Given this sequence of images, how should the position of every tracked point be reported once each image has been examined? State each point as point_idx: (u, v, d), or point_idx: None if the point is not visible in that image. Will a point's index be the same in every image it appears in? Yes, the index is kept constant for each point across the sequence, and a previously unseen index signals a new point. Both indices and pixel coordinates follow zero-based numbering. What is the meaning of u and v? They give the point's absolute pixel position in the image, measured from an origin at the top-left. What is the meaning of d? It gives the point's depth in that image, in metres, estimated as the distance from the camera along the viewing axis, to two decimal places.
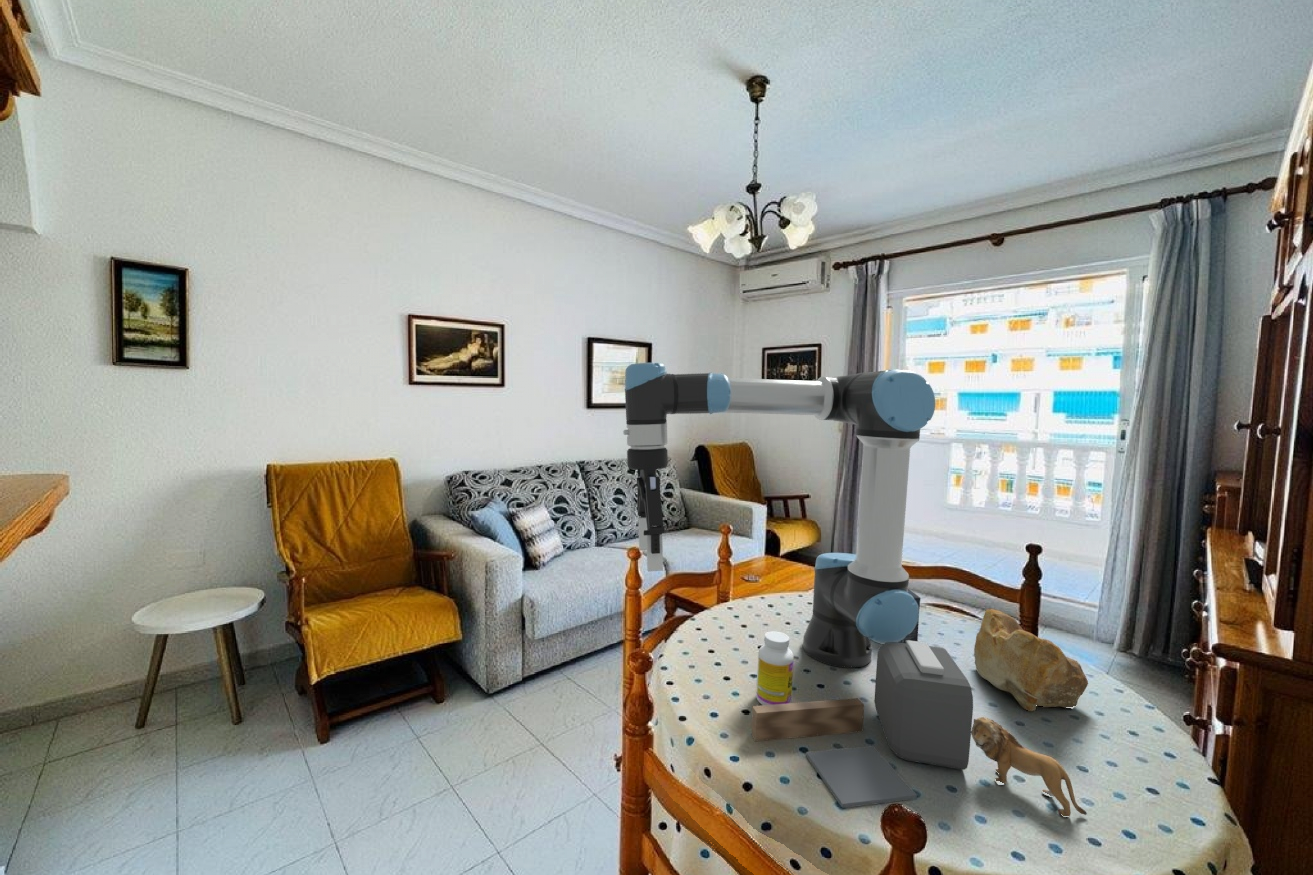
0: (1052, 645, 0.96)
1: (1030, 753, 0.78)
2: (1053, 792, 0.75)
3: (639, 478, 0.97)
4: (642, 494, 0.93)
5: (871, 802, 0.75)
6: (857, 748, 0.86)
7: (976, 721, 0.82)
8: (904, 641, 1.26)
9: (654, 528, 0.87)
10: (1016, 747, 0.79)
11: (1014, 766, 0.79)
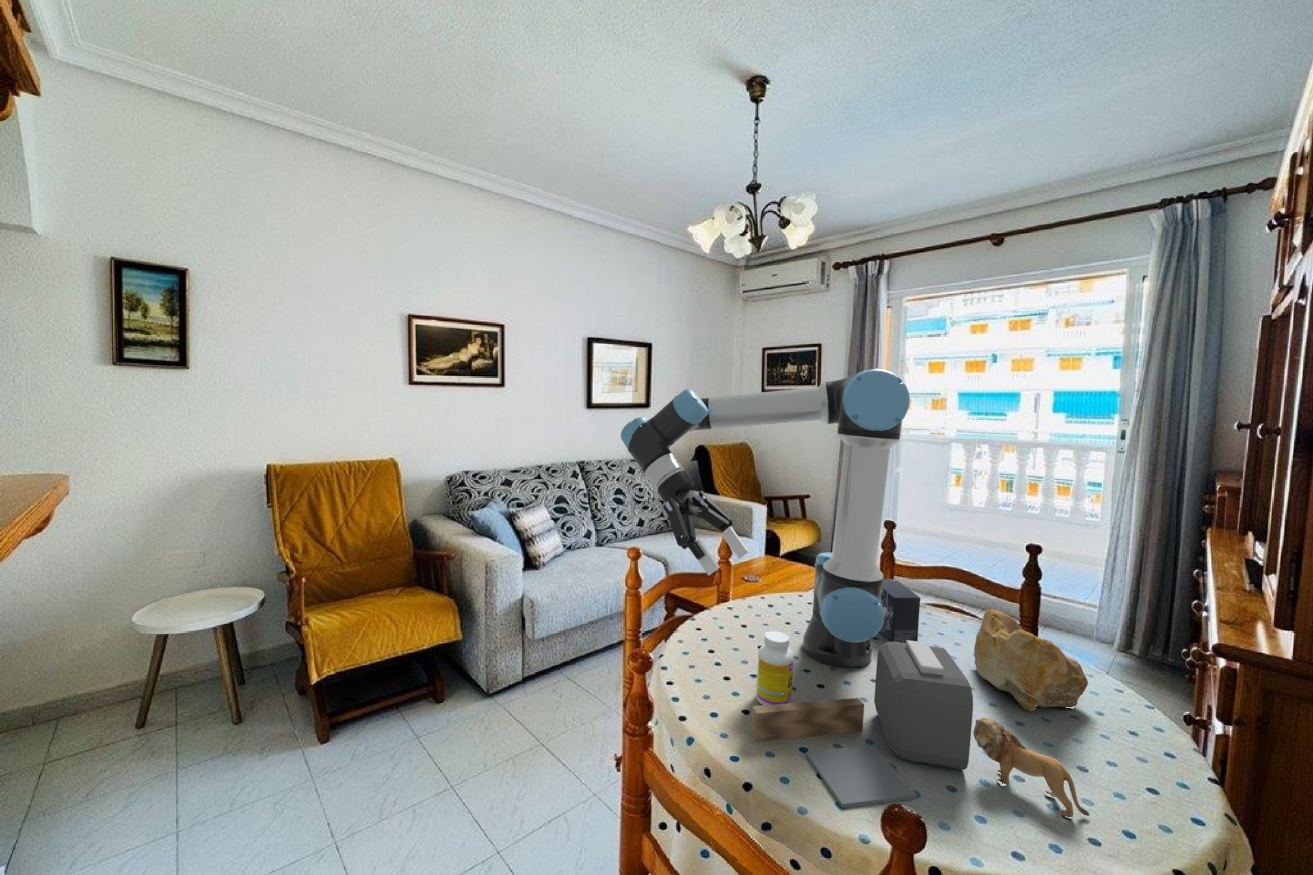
0: (1052, 645, 0.96)
1: (1032, 754, 0.78)
2: (1056, 793, 0.74)
3: None
4: None
5: (871, 802, 0.75)
6: (857, 748, 0.86)
7: (978, 722, 0.82)
8: (904, 641, 1.26)
9: (679, 540, 0.99)
10: (1018, 748, 0.79)
11: (1016, 767, 0.79)
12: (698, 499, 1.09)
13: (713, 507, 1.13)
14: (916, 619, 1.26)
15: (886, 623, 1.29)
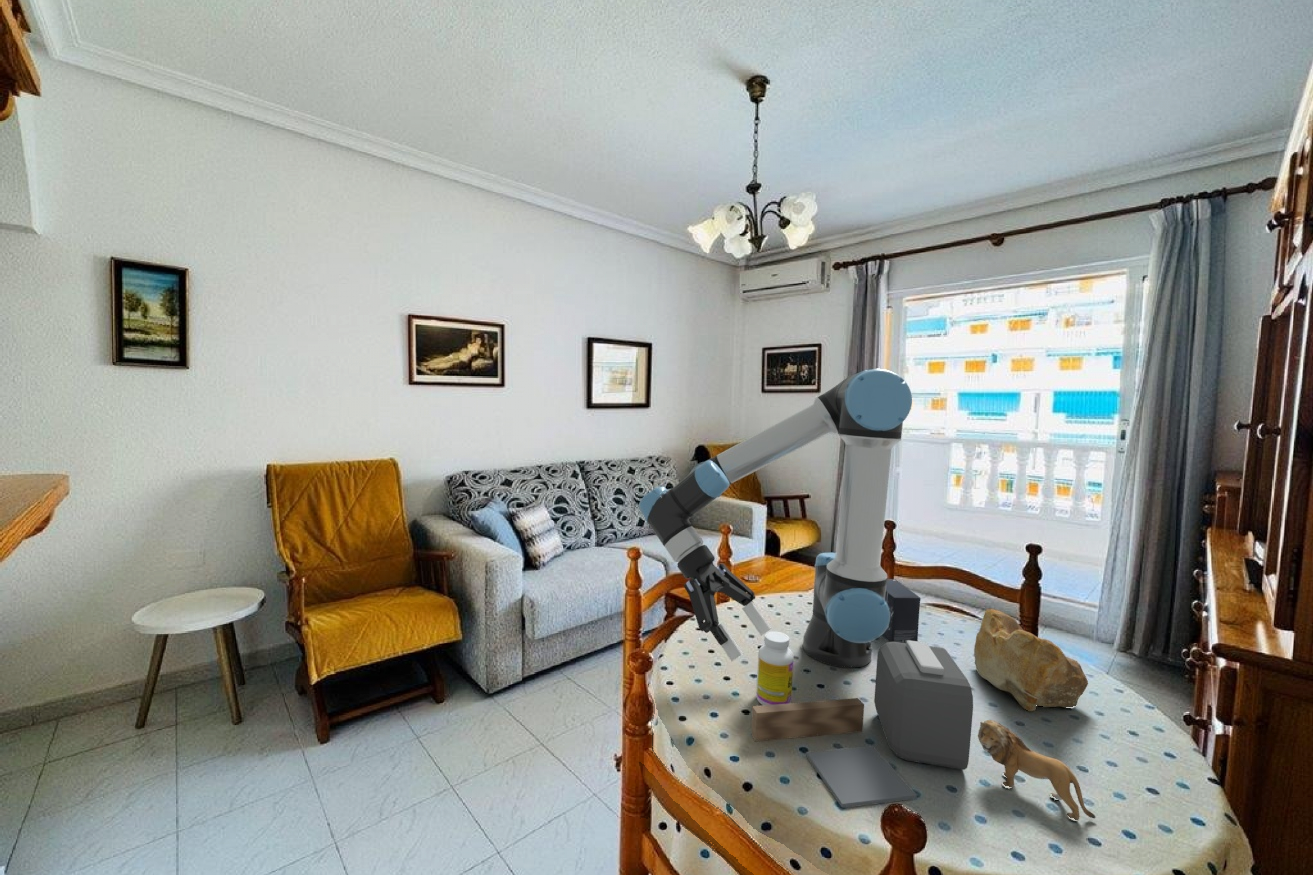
0: (1052, 645, 0.96)
1: (1038, 756, 0.77)
2: (1062, 796, 0.74)
3: None
4: None
5: (871, 802, 0.75)
6: (857, 748, 0.86)
7: (983, 724, 0.82)
8: (904, 641, 1.26)
9: (702, 625, 0.96)
10: (1024, 750, 0.78)
11: (1022, 769, 0.78)
12: (719, 575, 1.07)
13: (734, 580, 1.11)
14: (916, 619, 1.26)
15: None
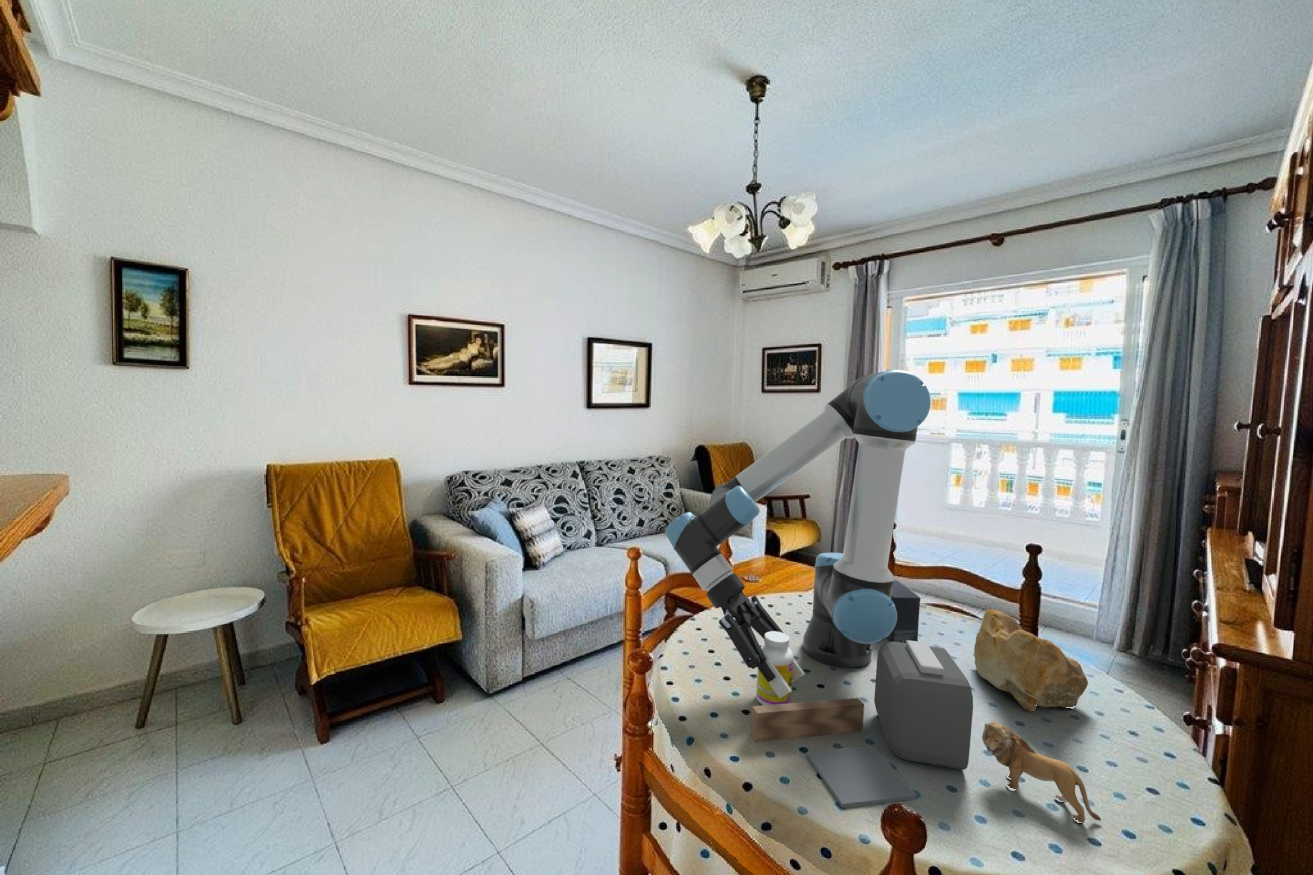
0: (1052, 645, 0.96)
1: (1042, 758, 0.77)
2: (1067, 798, 0.74)
3: None
4: None
5: (871, 802, 0.75)
6: (857, 748, 0.86)
7: (987, 726, 0.81)
8: (904, 641, 1.26)
9: (749, 661, 0.95)
10: (1028, 752, 0.78)
11: (1026, 771, 0.78)
12: (749, 605, 1.04)
13: (764, 615, 1.06)
14: (916, 619, 1.26)
15: None
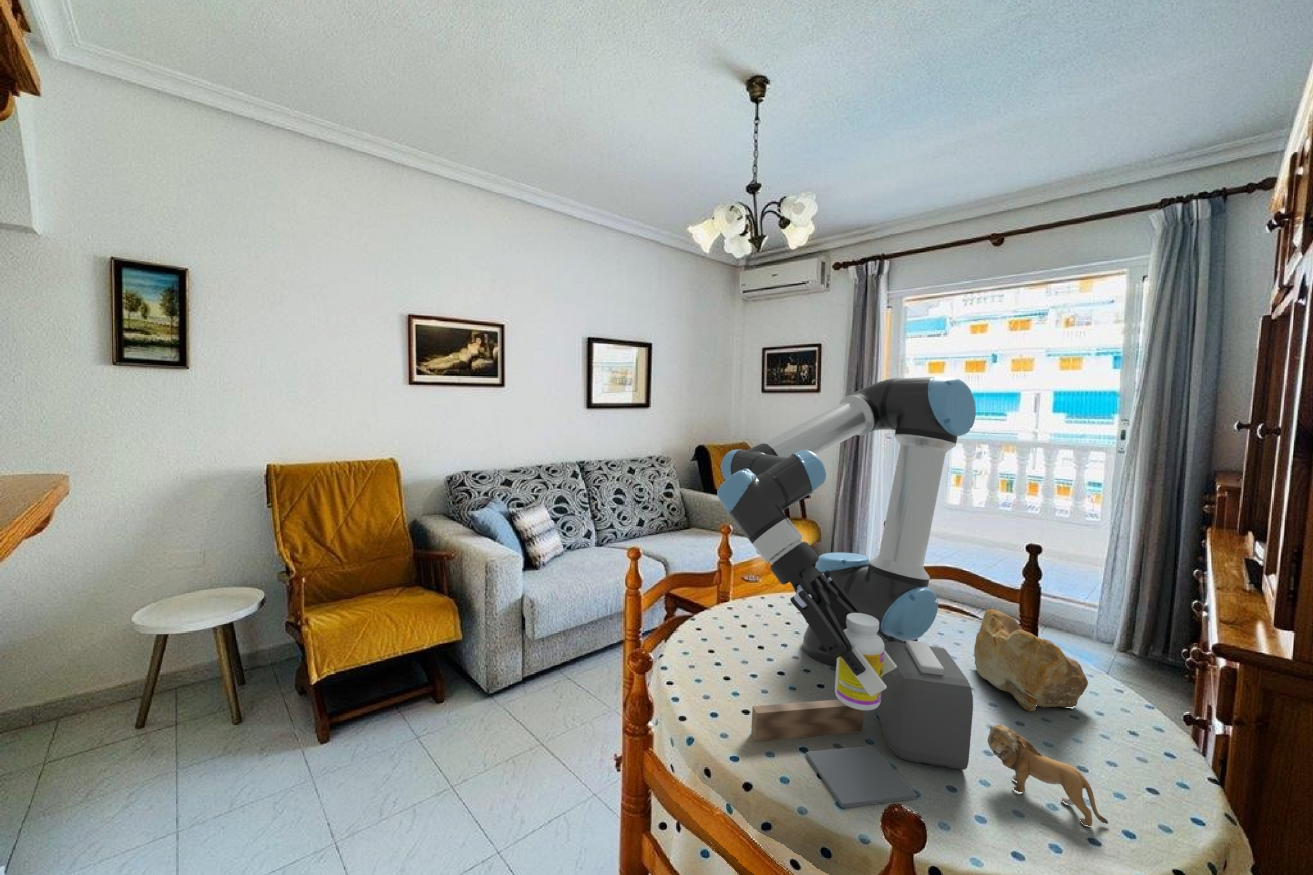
0: (1052, 645, 0.96)
1: (1049, 761, 0.76)
2: (1074, 801, 0.73)
3: None
4: None
5: (871, 802, 0.75)
6: (857, 748, 0.86)
7: (993, 729, 0.80)
8: (904, 641, 1.26)
9: (832, 649, 0.75)
10: (1034, 755, 0.77)
11: (1033, 775, 0.77)
12: (825, 580, 0.83)
13: (841, 594, 0.86)
14: None
15: None
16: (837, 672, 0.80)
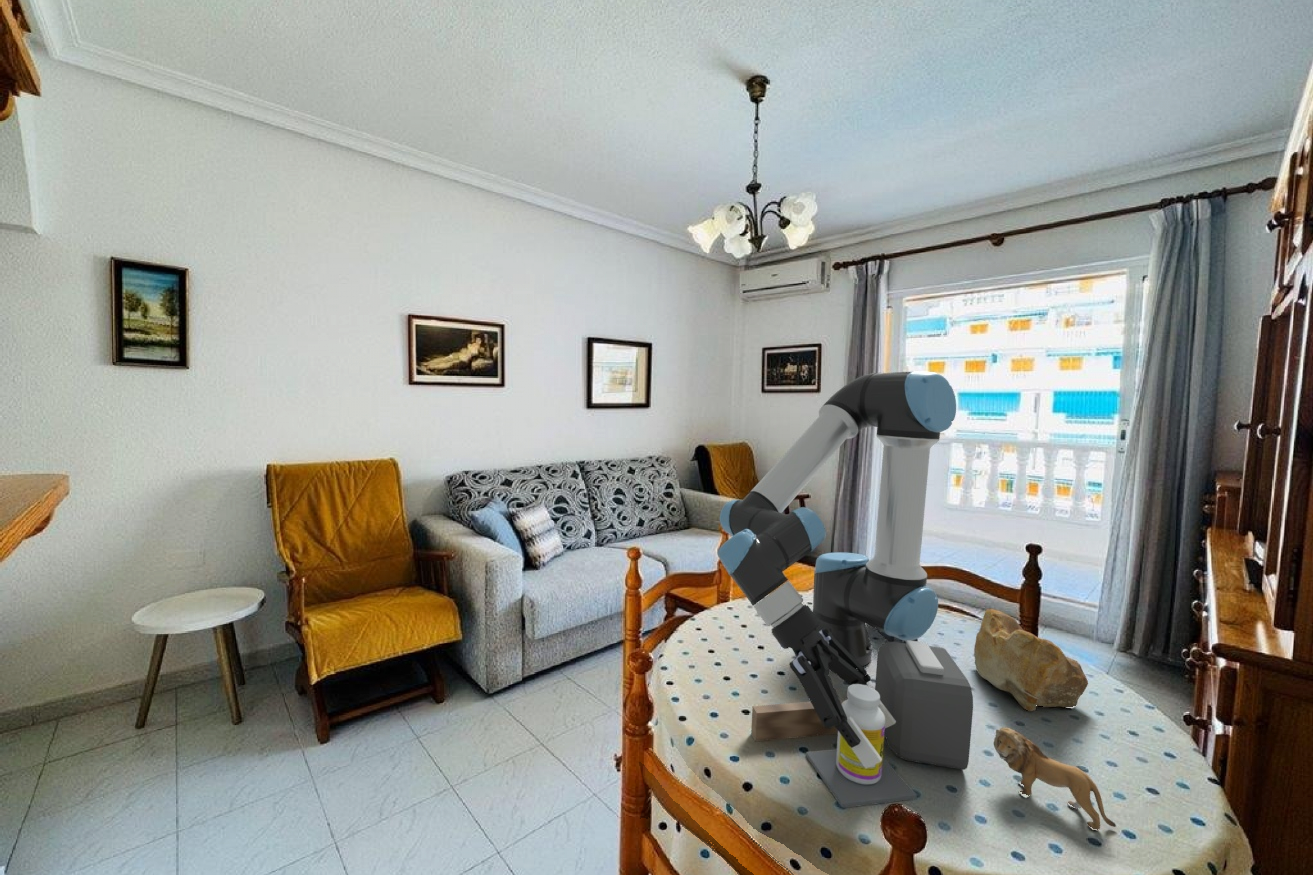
0: (1052, 645, 0.96)
1: (1056, 764, 0.76)
2: (1082, 804, 0.72)
3: None
4: None
5: (871, 802, 0.75)
6: None
7: (999, 732, 0.80)
8: (904, 641, 1.26)
9: (827, 721, 0.74)
10: (1041, 758, 0.77)
11: (1039, 778, 0.76)
12: (826, 644, 0.84)
13: (841, 652, 0.87)
14: None
15: None
16: (838, 744, 0.80)
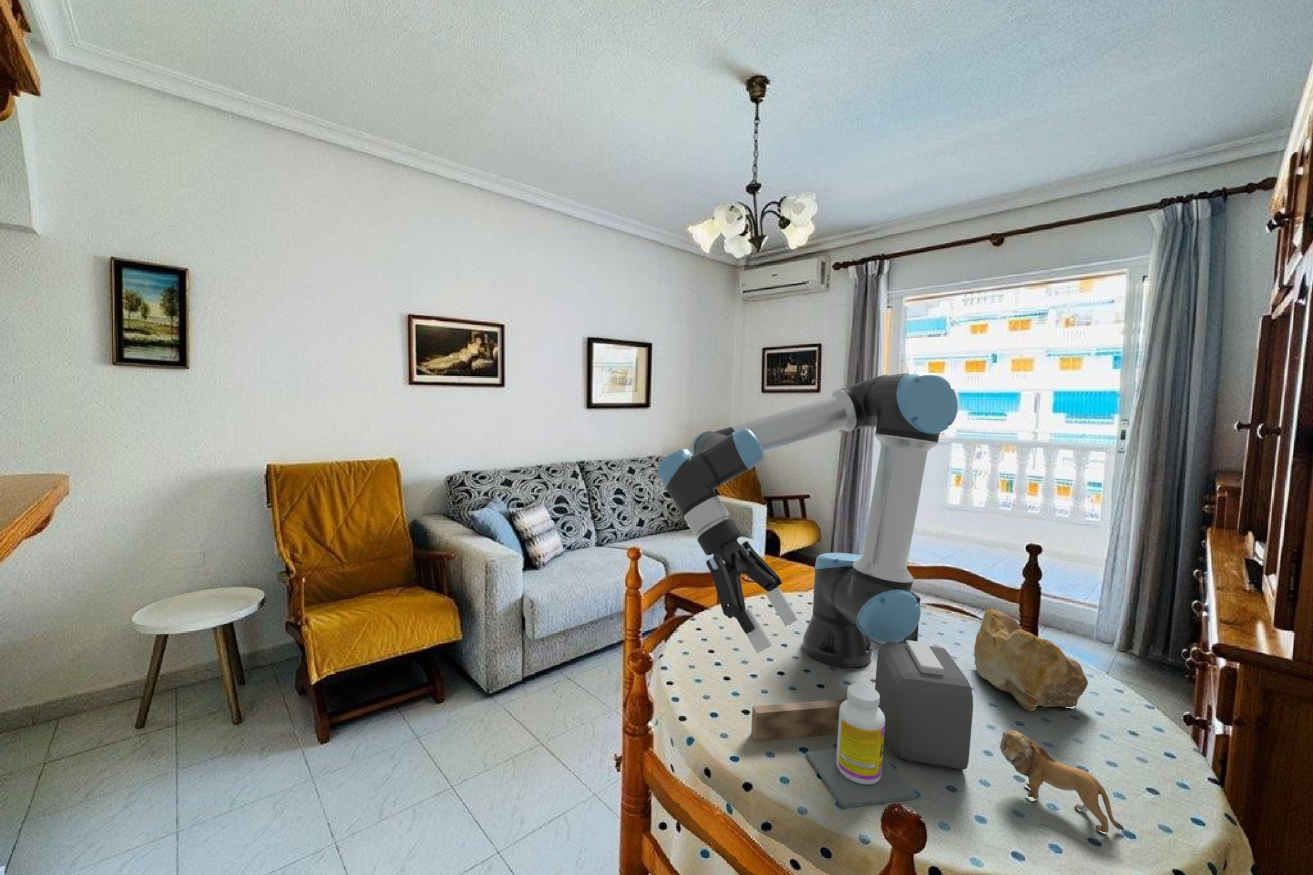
0: (1052, 645, 0.96)
1: (1063, 767, 0.75)
2: (1090, 808, 0.72)
3: None
4: None
5: (871, 802, 0.75)
6: None
7: (1005, 735, 0.79)
8: (904, 641, 1.26)
9: (726, 608, 0.82)
10: (1048, 761, 0.76)
11: (1047, 781, 0.76)
12: (745, 554, 0.93)
13: (759, 561, 0.97)
14: None
15: None
16: (838, 744, 0.80)
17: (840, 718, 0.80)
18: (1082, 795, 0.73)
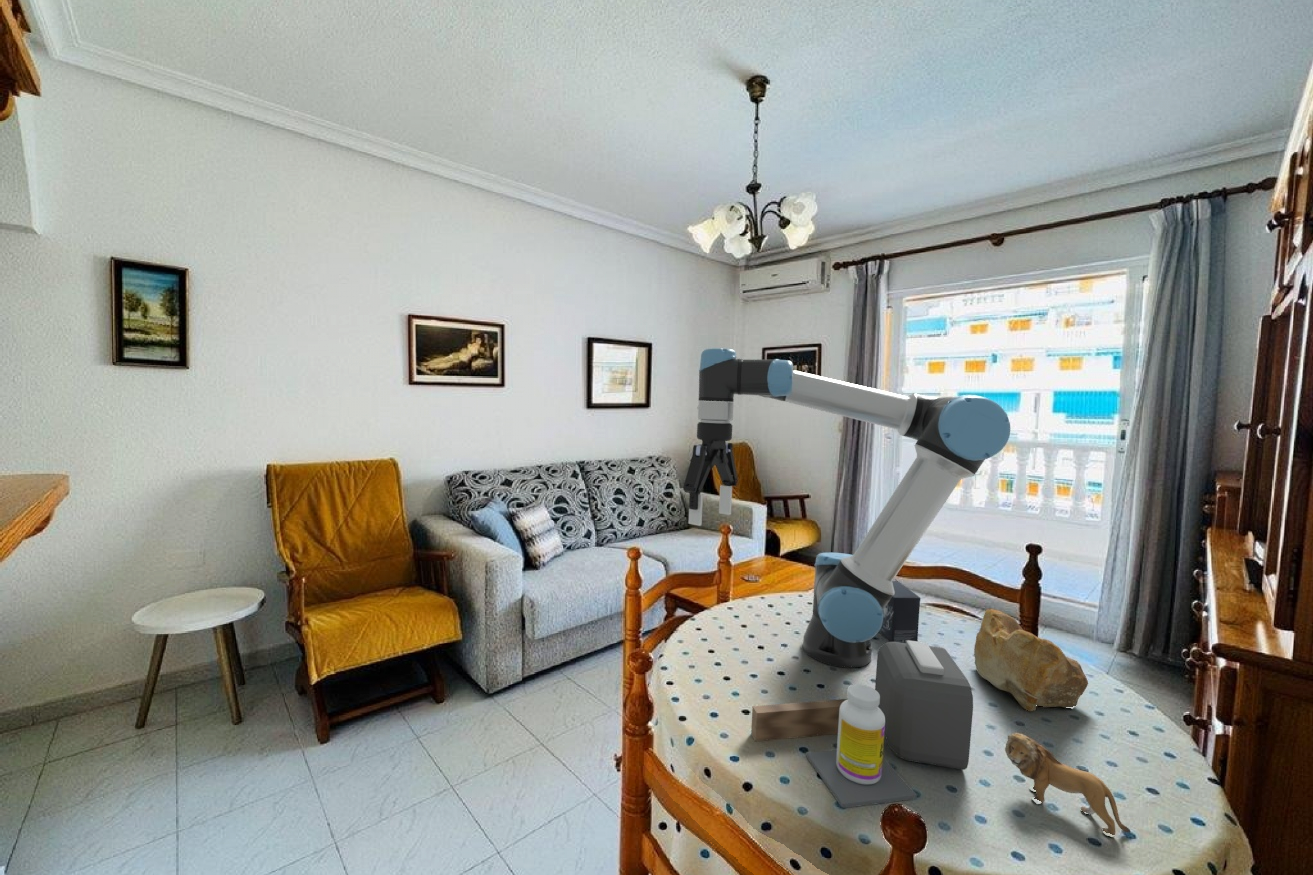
0: (1052, 645, 0.96)
1: (1069, 770, 0.74)
2: (1097, 811, 0.71)
3: None
4: None
5: (871, 802, 0.75)
6: None
7: (1011, 737, 0.78)
8: (904, 641, 1.26)
9: (687, 486, 1.04)
10: (1054, 764, 0.76)
11: (1053, 784, 0.75)
12: (724, 454, 1.12)
13: (730, 462, 1.17)
14: (916, 619, 1.26)
15: (886, 623, 1.29)
16: (838, 744, 0.80)
17: (840, 718, 0.80)
18: (1089, 798, 0.72)
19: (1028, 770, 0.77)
